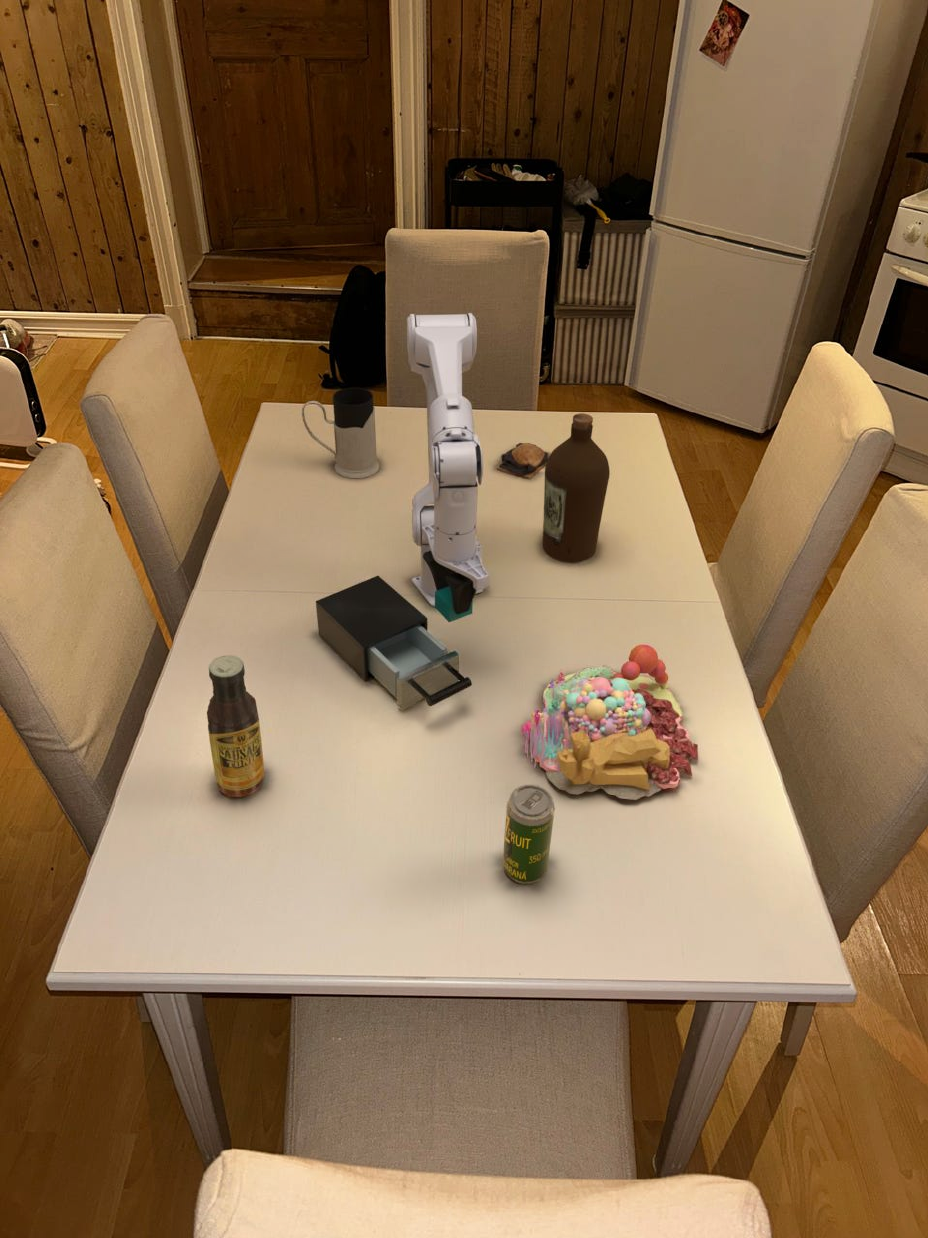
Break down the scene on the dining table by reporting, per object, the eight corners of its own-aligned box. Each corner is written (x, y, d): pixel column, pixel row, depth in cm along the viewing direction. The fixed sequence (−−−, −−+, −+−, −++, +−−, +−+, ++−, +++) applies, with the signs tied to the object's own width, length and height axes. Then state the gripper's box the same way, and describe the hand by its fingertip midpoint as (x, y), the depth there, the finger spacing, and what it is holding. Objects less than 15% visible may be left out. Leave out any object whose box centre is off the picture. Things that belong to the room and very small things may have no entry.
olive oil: (581, 526, 173) (596, 398, 157) (610, 557, 165) (629, 426, 150) (528, 537, 170) (538, 408, 154) (555, 570, 162) (568, 438, 146)
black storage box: (427, 652, 145) (427, 618, 141) (365, 682, 139) (363, 647, 135) (379, 609, 153) (378, 575, 149) (318, 635, 147) (315, 601, 143)
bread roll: (518, 447, 196) (519, 430, 193) (555, 457, 192) (556, 441, 190) (492, 468, 188) (493, 452, 186) (530, 480, 185) (531, 463, 183)
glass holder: (377, 478, 184) (374, 407, 175) (303, 477, 184) (296, 405, 175) (381, 456, 191) (378, 386, 182) (310, 454, 191) (303, 384, 182)
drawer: (479, 700, 136) (480, 673, 133) (422, 730, 131) (422, 703, 128) (410, 637, 146) (409, 611, 143) (354, 662, 141) (352, 636, 138)
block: (457, 599, 141) (458, 582, 139) (472, 613, 138) (473, 597, 136) (434, 607, 139) (434, 591, 137) (449, 622, 136) (449, 606, 134)
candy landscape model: (719, 795, 124) (733, 745, 118) (542, 815, 121) (547, 765, 115) (657, 667, 143) (667, 619, 137) (503, 682, 140) (506, 634, 134)
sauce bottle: (225, 807, 121) (201, 691, 108) (211, 773, 125) (187, 659, 113) (274, 789, 123) (257, 674, 111) (259, 757, 127) (241, 643, 115)
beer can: (520, 841, 118) (526, 775, 110) (556, 865, 115) (564, 799, 107) (493, 869, 114) (497, 803, 107) (529, 894, 112) (536, 828, 104)
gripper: (510, 541, 126) (505, 621, 135) (452, 491, 136) (450, 569, 144) (464, 556, 123) (462, 637, 132) (408, 504, 132) (410, 583, 141)
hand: (453, 603), depth 138 cm, fingers closed on block, 4 cm apart
